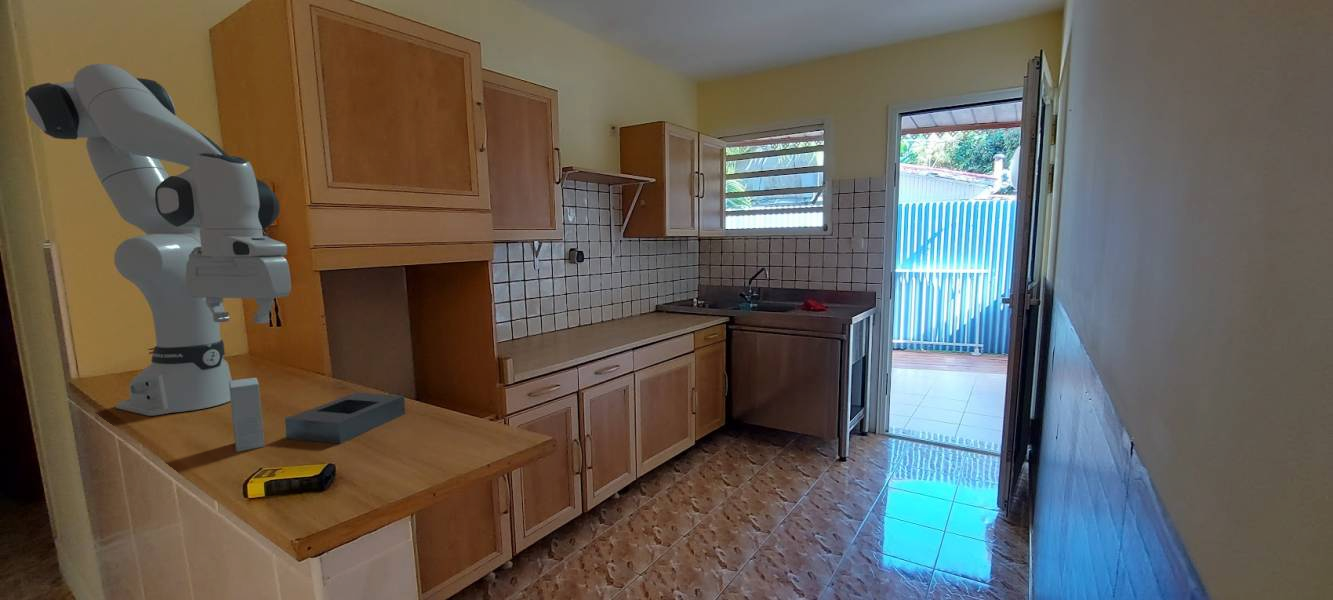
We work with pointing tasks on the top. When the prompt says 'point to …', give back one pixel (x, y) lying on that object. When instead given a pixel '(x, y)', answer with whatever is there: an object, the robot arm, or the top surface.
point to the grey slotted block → (344, 417)
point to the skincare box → (246, 414)
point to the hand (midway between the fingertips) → (241, 322)
